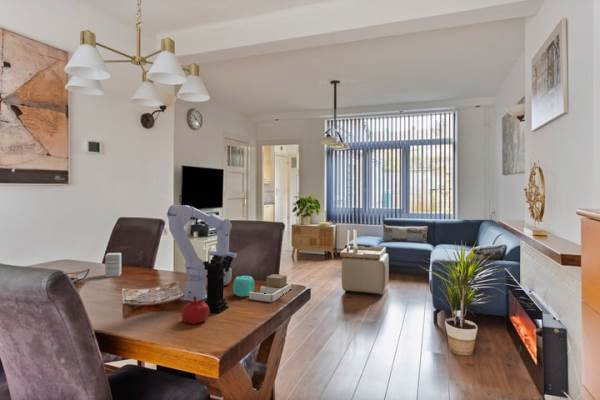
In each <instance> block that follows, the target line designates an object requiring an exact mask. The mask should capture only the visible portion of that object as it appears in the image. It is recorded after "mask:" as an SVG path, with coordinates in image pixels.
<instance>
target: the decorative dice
mask: <svg viewBox="0 0 600 400" xmlns="http://www.w3.org/2000/svg"><path fill="white" fill-rule="evenodd" d="M233 280H234V281H233V283H232V292H233V293H234V295H235V296H236V297H240V298H241V297H243V298H244V297H249V292H254V291H255V284H256V283H255V279H254V278H253V277H252V276H250V275H240V276H239V275H237V276H236V277H235V278H234V279H233Z"/></svg>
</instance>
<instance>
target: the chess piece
mask: <svg viewBox="0 0 600 400" xmlns="http://www.w3.org/2000/svg"><path fill="white" fill-rule="evenodd" d="M203 261H204V260H203ZM227 263H228V260H224V259H222V261H221V262H216V259H212V258H210V261H206V260H205V261H204V262H203V265H205V270H207V275H206V278H207V279H206V295H207V298H206V300H203V301H204V302H205V303H207V305H208V306H209V309H210V313H209V314H217V315H218V314H222V312H224V311H226V310H228V309H229V305H228V302H227V298H224V288H225V287H224V286H225V285H224V276H225V274H224V269H225V268H226V265H227Z"/></svg>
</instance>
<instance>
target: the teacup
mask: <svg viewBox="0 0 600 400" xmlns="http://www.w3.org/2000/svg"><path fill="white" fill-rule="evenodd" d="M232 273H233V269H232V268H231V267H229V271H228V272H225V269H224V274H225V276H224V286H226V285H227V286H228V284H229V283H230V282H231V281H232Z"/></svg>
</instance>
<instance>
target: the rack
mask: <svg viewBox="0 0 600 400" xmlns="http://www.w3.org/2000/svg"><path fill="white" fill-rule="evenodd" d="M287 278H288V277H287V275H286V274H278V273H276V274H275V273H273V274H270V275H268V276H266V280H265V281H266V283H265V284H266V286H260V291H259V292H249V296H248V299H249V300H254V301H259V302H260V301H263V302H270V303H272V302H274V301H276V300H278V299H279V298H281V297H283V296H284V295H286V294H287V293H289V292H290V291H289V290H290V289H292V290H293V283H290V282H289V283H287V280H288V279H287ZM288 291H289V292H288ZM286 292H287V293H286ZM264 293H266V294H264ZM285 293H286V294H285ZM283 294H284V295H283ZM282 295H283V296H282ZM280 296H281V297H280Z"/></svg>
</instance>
